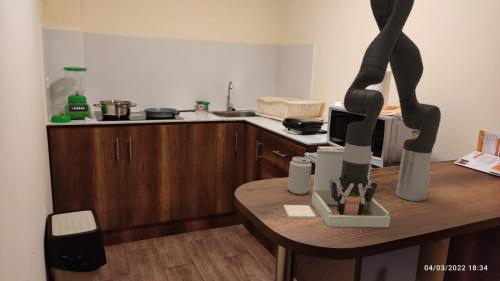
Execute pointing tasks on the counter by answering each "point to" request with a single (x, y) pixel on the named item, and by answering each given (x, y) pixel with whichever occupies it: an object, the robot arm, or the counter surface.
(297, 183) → the can
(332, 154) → the cold frame
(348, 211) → the clay pot
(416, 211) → the counter surface
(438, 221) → the counter surface
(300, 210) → the tile
